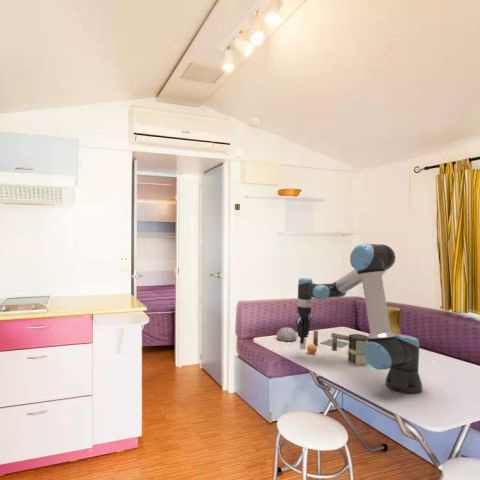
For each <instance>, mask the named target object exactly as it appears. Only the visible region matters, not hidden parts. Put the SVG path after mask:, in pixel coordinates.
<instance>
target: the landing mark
mask: <svg viewBox="0 0 480 480" xmlns="http://www.w3.org/2000/svg"><path fill="white" fill-rule="evenodd" d="M332 341H333V338H332V339H331V338H329V339H326V340H323V341H321V342H319V344H321V345H325V346H329V347H330V346H331V347H332ZM346 346H349V342H348V341H347V342H345V341H341V340H337V348H338V349H341V348H344V347H346Z"/></svg>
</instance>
